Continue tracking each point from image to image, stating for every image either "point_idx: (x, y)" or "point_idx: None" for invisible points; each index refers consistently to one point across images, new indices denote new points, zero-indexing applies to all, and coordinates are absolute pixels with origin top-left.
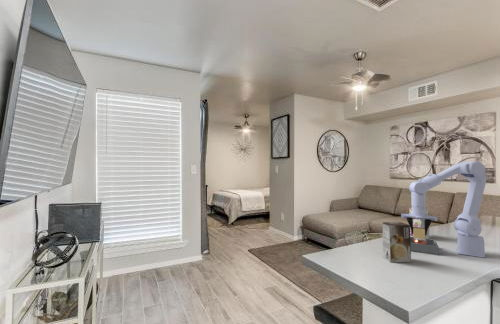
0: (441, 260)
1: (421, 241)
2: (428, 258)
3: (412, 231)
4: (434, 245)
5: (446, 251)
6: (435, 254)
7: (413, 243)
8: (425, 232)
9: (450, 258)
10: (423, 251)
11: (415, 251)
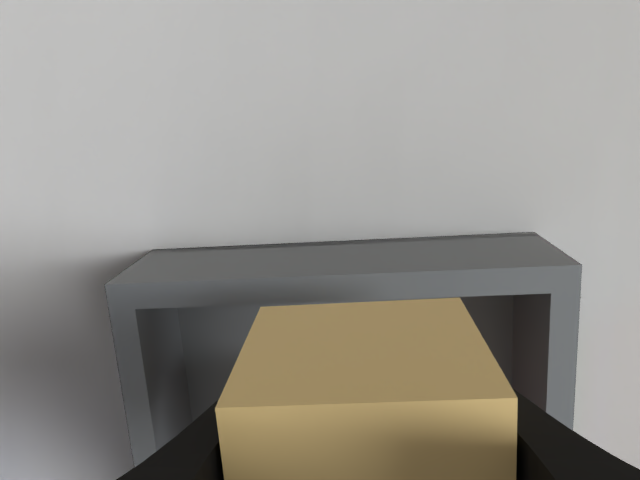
0: (118, 37)
1: None
2: (256, 25)
3: None
4: None
5: (87, 467)
6: (183, 248)
7: (441, 270)
8: None
9: (37, 198)
10: (310, 246)
11: (402, 240)
